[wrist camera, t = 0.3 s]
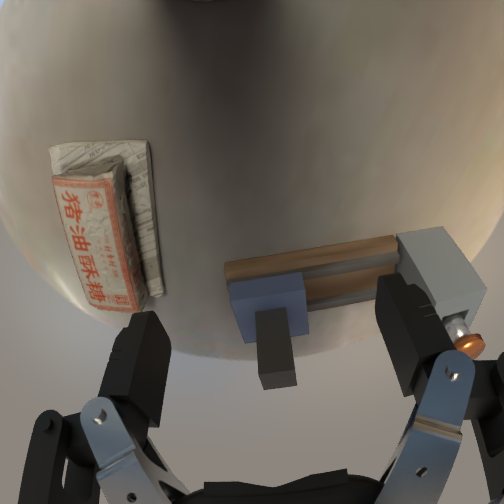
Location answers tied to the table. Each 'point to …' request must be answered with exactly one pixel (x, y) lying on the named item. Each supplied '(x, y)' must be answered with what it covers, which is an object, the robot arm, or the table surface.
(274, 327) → the carriage
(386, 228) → the table surface
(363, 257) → the rail bed
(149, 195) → the packaged product
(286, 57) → the table surface
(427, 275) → the end cabinet
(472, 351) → the orange push button
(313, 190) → the table surface
